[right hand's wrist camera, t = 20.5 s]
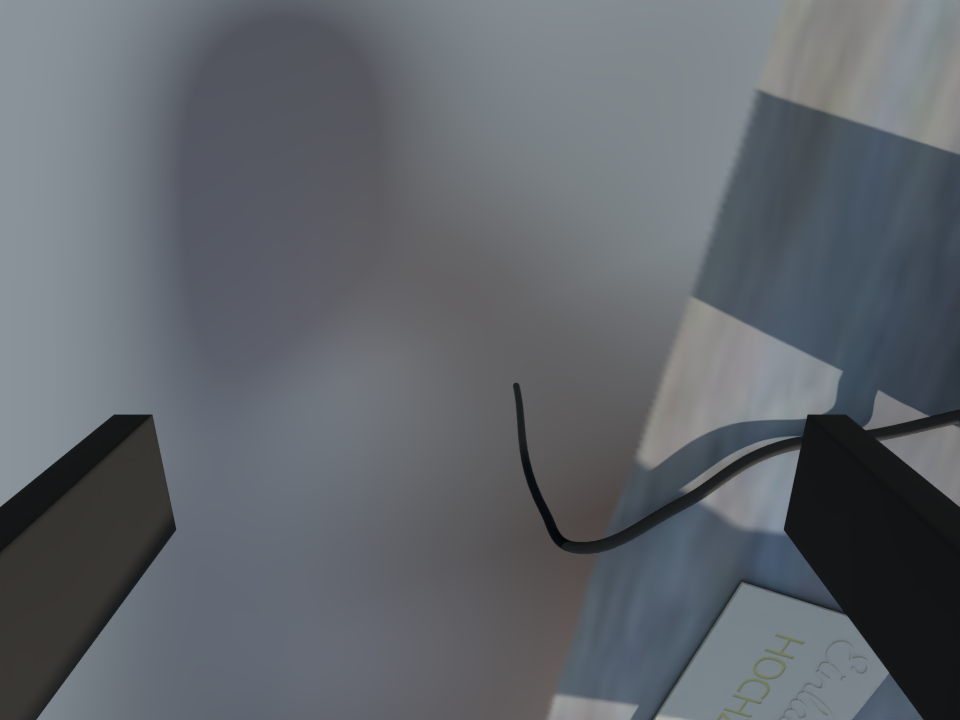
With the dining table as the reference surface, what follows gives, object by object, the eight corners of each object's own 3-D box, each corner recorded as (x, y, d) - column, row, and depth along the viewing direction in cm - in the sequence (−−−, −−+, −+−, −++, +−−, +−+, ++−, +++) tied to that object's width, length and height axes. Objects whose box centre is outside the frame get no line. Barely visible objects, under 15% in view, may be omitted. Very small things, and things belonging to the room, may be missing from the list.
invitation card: (743, 584, 46) (917, 639, 48) (741, 581, 46) (915, 636, 48) (620, 774, 53) (776, 815, 55) (619, 770, 54) (774, 812, 55)
